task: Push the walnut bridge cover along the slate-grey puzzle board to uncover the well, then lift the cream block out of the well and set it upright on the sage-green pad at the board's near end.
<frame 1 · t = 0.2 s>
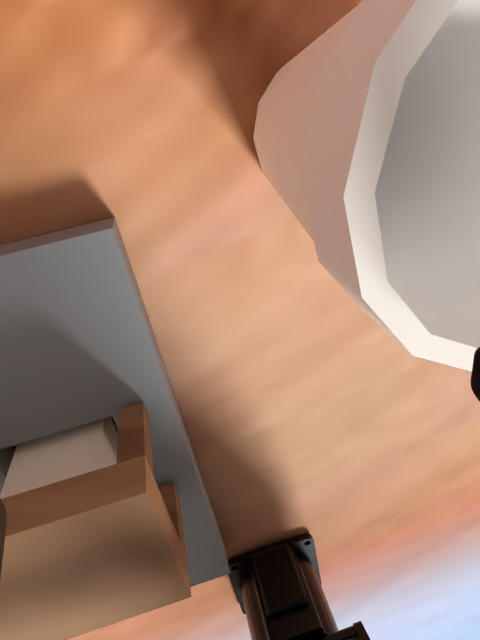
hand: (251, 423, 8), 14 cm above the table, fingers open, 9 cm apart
slide cover: (66, 526, 20), point 5 cm above the table, slide at 0.0 cm
block: (78, 448, 25), resting in board
board: (78, 449, 25), on the table
foam cup: (318, 131, 20), on the table
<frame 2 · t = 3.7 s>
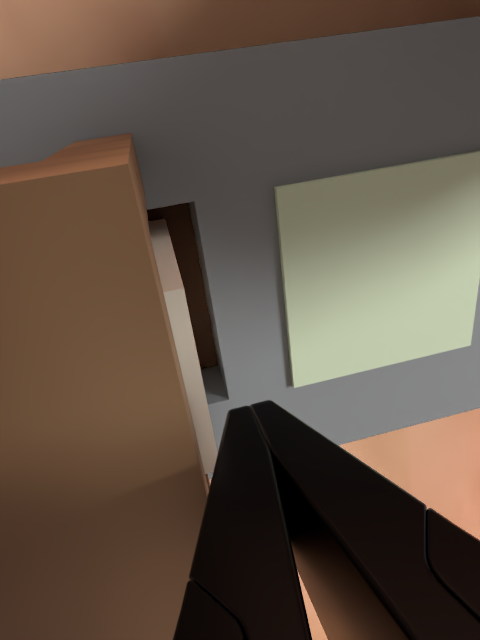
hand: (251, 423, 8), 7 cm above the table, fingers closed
slide cover: (10, 425, 9), point 5 cm above the table, slide at 1.6 cm, touching gripper
block: (106, 304, 13), resting in board
board: (106, 305, 13), on the table
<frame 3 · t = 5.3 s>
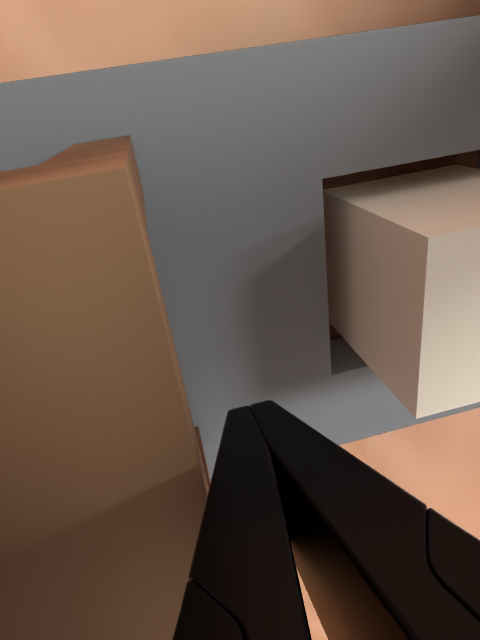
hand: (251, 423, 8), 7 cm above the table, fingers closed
slide cover: (10, 428, 9), point 5 cm above the table, slide at 10.9 cm, touching gripper
block: (387, 246, 15), resting in board
board: (389, 247, 14), on the table
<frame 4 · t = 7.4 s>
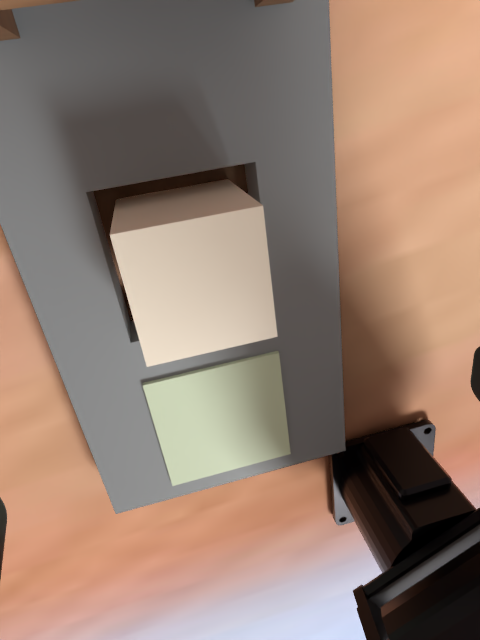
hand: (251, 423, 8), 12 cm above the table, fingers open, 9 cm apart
block: (183, 242, 18), resting in board
board: (184, 243, 18), on the table
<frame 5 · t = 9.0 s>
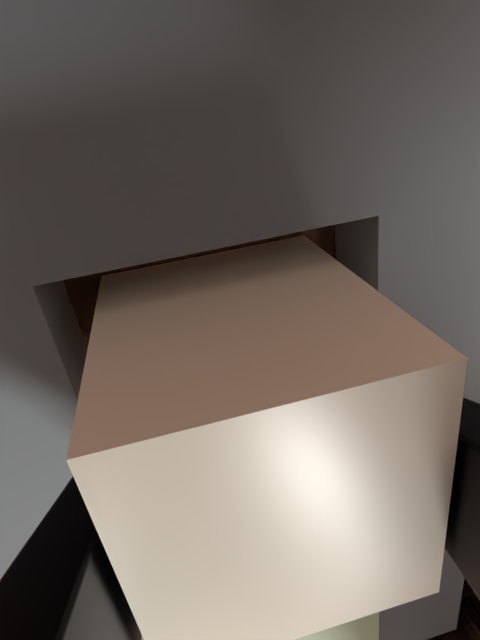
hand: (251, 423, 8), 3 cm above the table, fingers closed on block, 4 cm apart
block: (221, 343, 11), resting in board, touching gripper
board: (221, 344, 11), on the table
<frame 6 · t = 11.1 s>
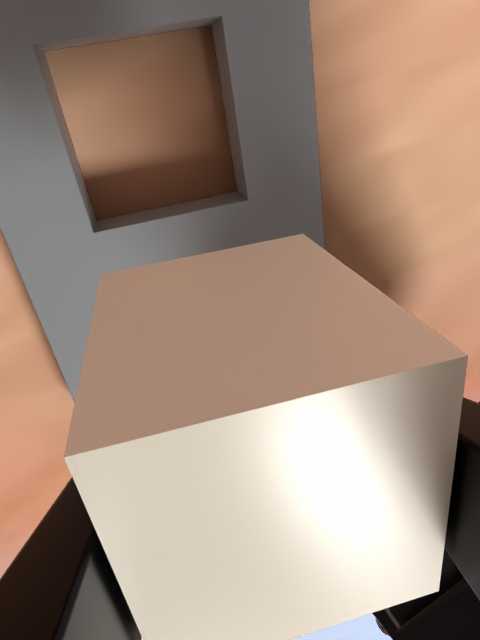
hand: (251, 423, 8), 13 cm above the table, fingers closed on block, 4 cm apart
block: (220, 341, 11), point 10 cm above the table, touching gripper
board: (150, 128, 17), on the table
when the fingers open (6 cm above the table, at t = 13.0 s): block stays where it is, resting on board.
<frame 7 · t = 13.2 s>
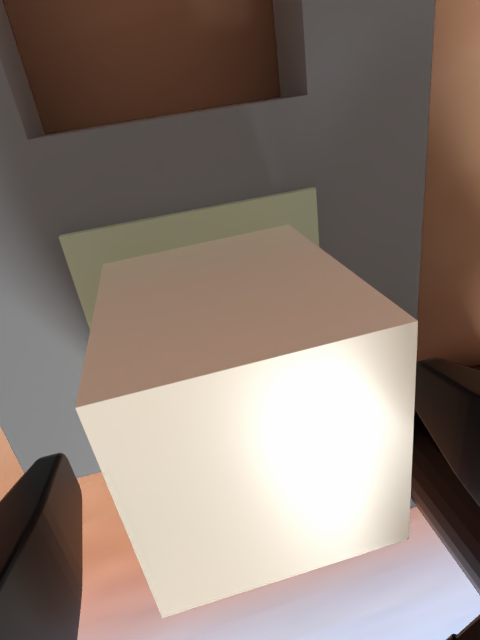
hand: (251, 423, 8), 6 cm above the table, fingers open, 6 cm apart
block: (215, 326, 11), point 2 cm above the table, touching board
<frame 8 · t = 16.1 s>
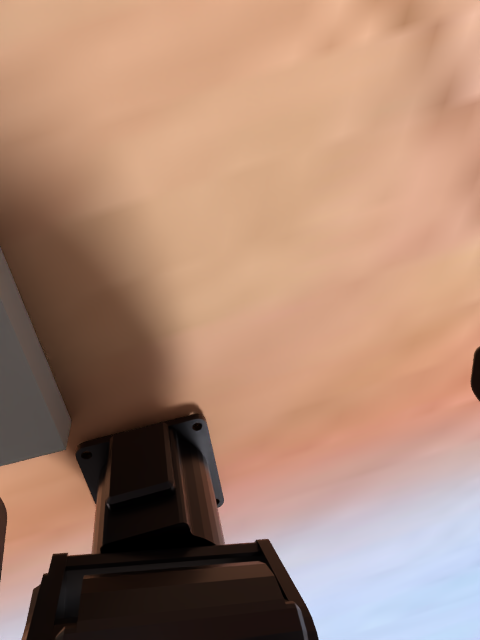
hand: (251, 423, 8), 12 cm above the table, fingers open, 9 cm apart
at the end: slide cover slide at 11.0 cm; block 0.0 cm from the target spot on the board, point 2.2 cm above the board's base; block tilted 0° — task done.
